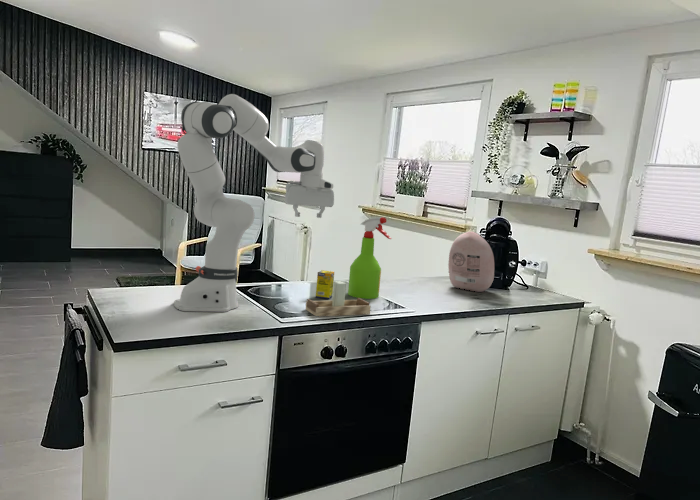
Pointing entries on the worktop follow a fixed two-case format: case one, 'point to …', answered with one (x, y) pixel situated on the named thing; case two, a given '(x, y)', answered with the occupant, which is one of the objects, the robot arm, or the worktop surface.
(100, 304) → the worktop surface
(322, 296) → the supplement box
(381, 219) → the spray bottle
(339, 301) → the pale grey-green block
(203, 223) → the robot arm
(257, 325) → the worktop surface
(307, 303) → the wooden tray
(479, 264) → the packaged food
